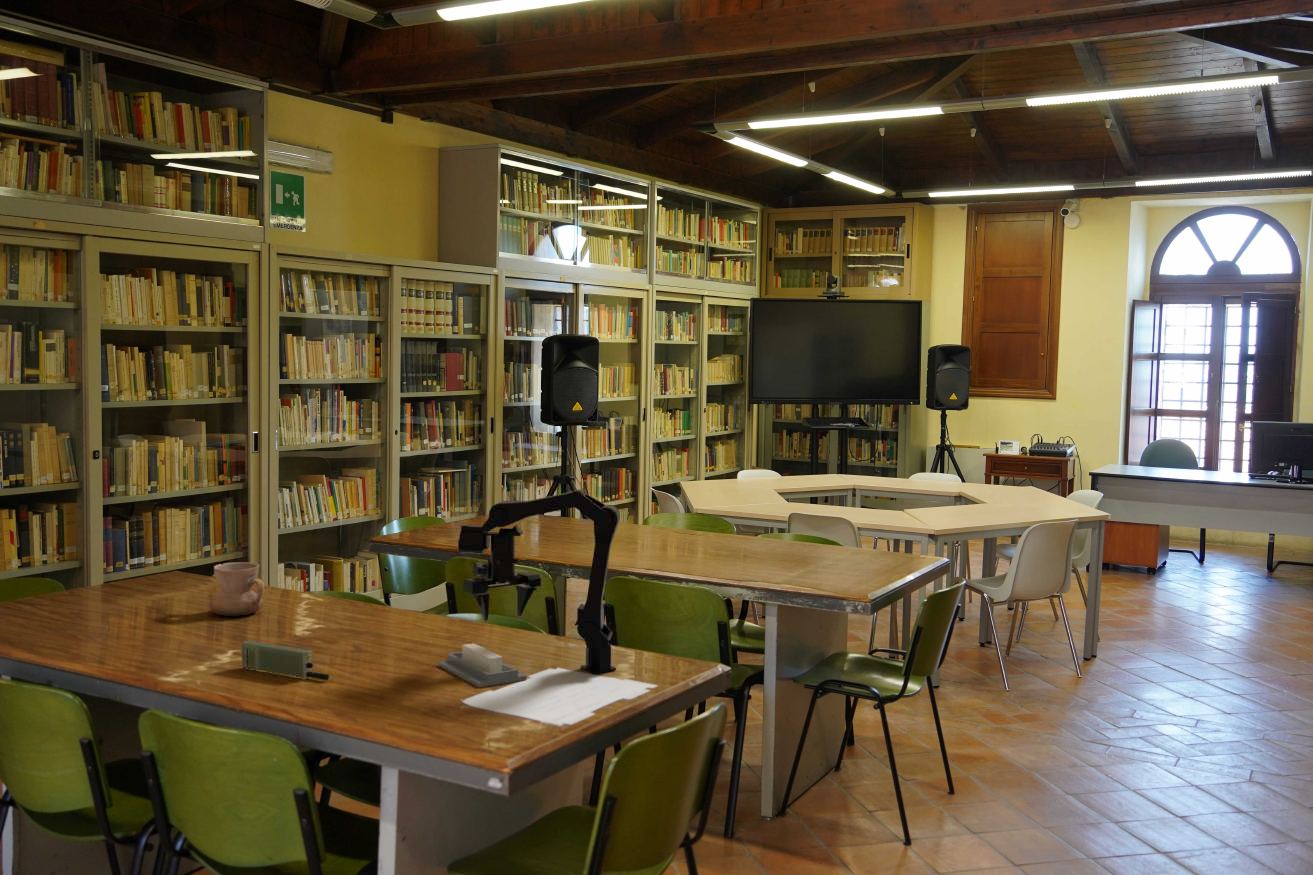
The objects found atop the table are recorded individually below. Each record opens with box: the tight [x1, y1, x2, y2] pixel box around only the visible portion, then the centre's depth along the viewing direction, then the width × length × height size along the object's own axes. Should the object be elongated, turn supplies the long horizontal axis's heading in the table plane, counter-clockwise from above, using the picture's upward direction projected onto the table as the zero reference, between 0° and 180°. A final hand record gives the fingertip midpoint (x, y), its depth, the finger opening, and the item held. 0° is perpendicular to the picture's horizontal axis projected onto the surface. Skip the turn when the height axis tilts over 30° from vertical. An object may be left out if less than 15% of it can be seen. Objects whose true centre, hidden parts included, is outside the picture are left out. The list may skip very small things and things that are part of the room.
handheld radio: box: [241, 640, 330, 681], centre depth 245 cm, size 7×3×25 cm
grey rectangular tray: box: [438, 651, 527, 689], centre depth 250 cm, size 22×12×3 cm, turn 35°
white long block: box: [461, 643, 503, 673], centre depth 250 cm, size 15×3×4 cm, turn 35°
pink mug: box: [208, 561, 265, 617], centre depth 307 cm, size 18×14×14 cm
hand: (502, 618), depth 256 cm, fingers open, 9 cm apart
